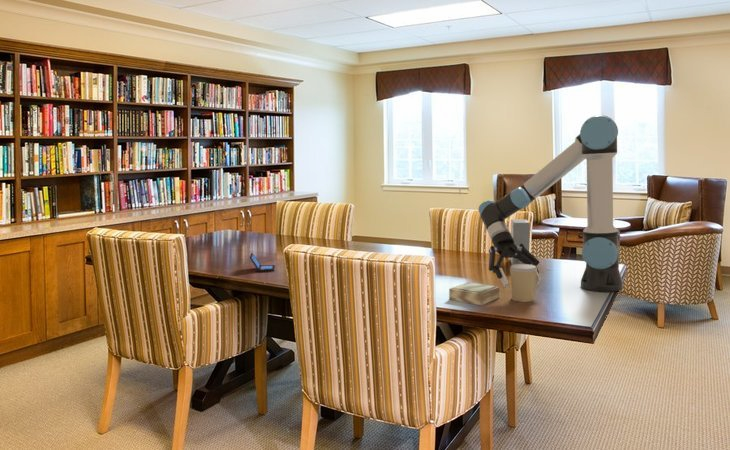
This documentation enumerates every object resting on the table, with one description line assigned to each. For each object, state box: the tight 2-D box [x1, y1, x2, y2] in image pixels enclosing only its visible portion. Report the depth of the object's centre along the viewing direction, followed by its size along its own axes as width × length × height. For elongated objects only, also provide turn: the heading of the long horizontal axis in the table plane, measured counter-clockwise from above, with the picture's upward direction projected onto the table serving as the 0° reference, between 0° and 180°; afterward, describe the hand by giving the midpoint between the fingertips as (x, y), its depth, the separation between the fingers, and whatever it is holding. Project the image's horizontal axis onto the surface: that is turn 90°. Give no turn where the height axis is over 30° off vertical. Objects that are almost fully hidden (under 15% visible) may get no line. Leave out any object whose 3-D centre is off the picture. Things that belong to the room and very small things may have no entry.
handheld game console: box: [249, 252, 276, 273], centre depth 274 cm, size 12×11×7 cm
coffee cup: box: [509, 264, 538, 303], centre depth 212 cm, size 9×9×12 cm
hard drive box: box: [509, 218, 531, 265], centre depth 279 cm, size 16×8×20 cm, turn 170°
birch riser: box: [448, 281, 500, 306], centre depth 215 cm, size 13×13×4 cm
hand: (522, 283), depth 212 cm, fingers open, 13 cm apart
